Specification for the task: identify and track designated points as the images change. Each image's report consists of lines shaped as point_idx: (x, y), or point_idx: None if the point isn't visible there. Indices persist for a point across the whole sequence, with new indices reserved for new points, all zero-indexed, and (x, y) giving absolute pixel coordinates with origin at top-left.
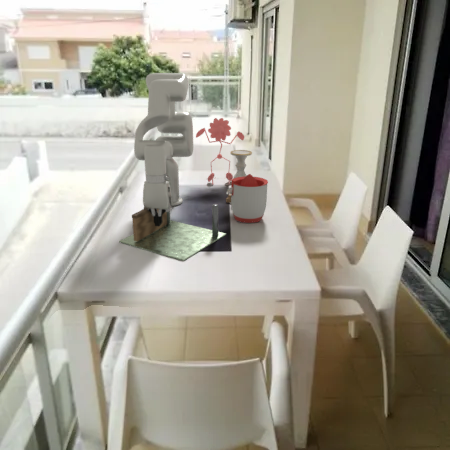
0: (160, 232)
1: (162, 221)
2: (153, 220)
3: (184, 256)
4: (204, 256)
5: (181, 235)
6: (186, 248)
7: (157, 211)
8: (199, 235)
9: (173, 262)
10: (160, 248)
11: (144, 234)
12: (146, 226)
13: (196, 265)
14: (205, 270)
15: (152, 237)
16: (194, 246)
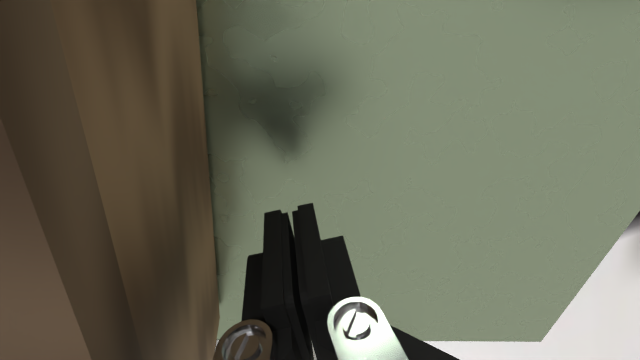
0: (254, 99)
1: (344, 241)
2: (178, 201)
3: (541, 320)
4: (633, 268)
5: (466, 85)
6: (540, 254)
7: (122, 143)
8: (627, 18)
9: (494, 356)
10: (395, 309)
11: (212, 273)
12: (197, 293)
13: (593, 338)
14: (628, 349)
15: (257, 214)
16: (587, 216)
